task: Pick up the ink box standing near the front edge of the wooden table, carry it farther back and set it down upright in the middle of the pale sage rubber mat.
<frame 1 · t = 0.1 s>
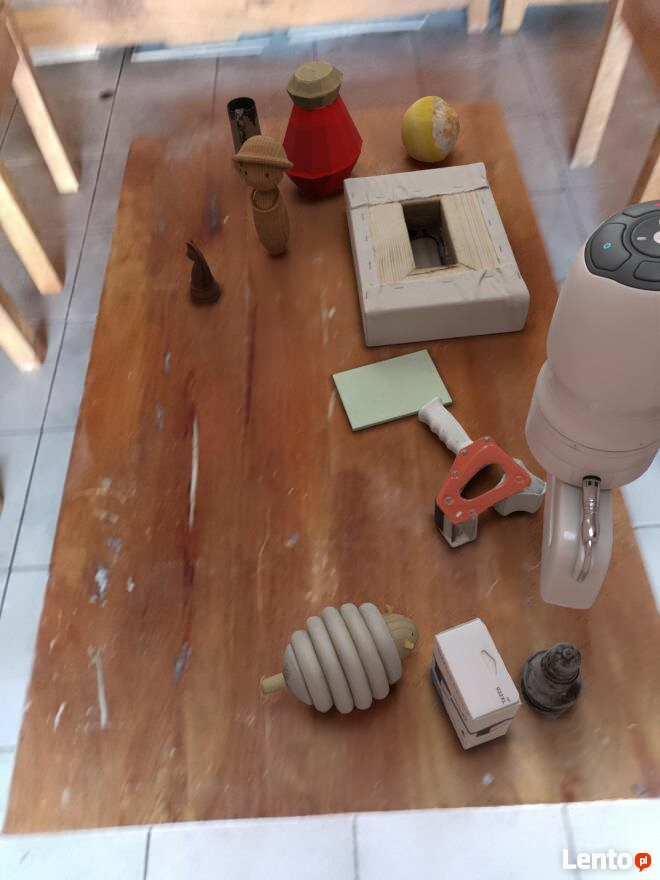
hand: (557, 520, 60), 23 cm above the table, tool pointing down, fingers open, 8 cm apart
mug: (251, 165, 132), on the table
dark grey tiered post: (546, 689, 75), on the table
box: (427, 268, 113), on the table
fruit: (429, 157, 129), on the table
mat: (391, 390, 99), on the table
toy sheep: (345, 674, 77), on the table
ink box: (466, 702, 74), on the table
figurine: (277, 251, 118), on the table
chess piece: (207, 295, 113), on the table
bottle: (323, 182, 127), on the table
tape dispenser: (472, 480, 90), on the table, touching mat
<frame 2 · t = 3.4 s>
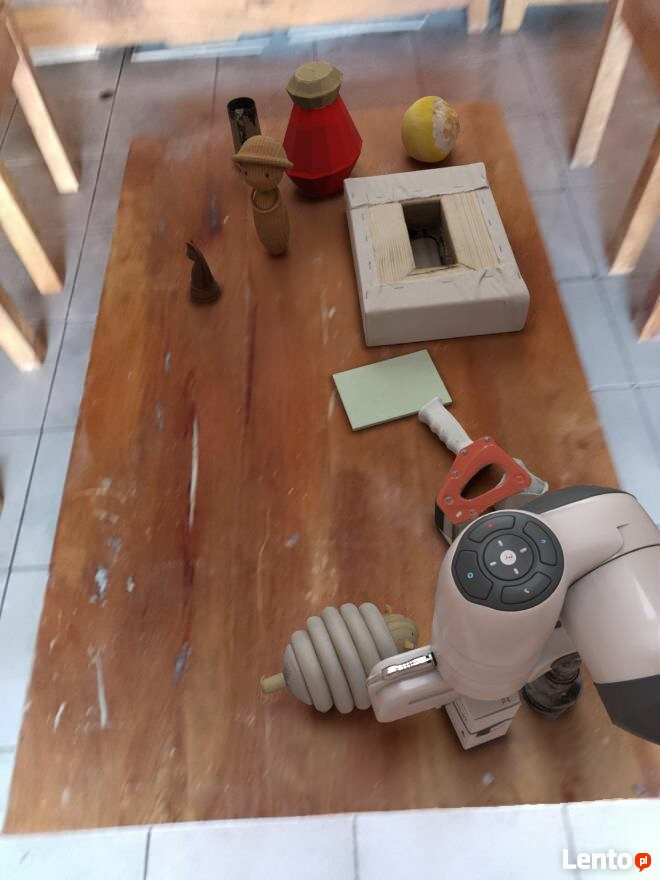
hand: (470, 689, 71), 5 cm above the table, tool pointing down, fingers closed on ink box, 5 cm apart
ink box: (466, 702, 74), on the table, touching gripper
everything else where it was.
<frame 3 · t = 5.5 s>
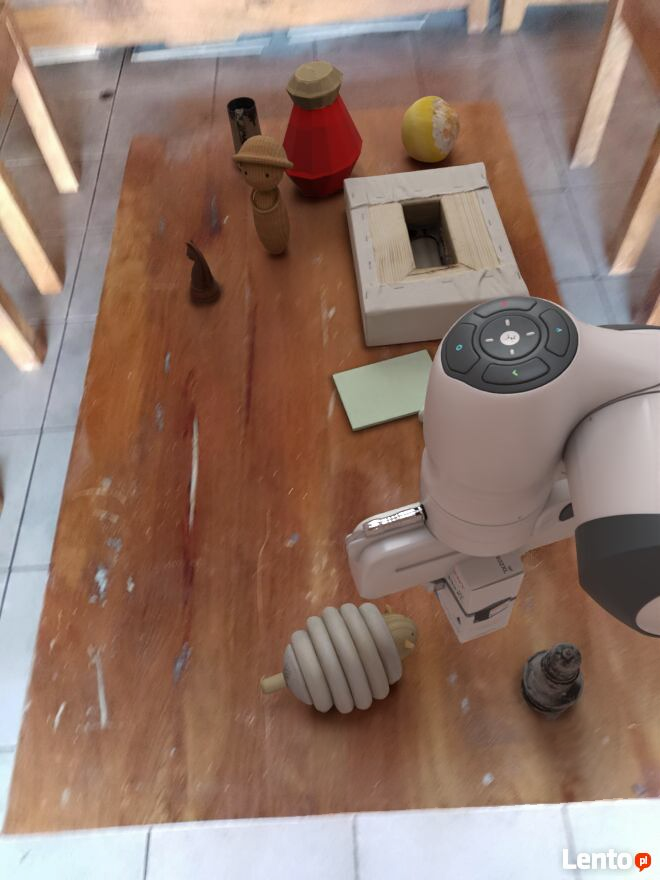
hand: (467, 572, 62), 19 cm above the table, tool pointing down, fingers closed on ink box, 5 cm apart
ink box: (462, 595, 66), point 14 cm above the table, touching gripper
everything else where it was.
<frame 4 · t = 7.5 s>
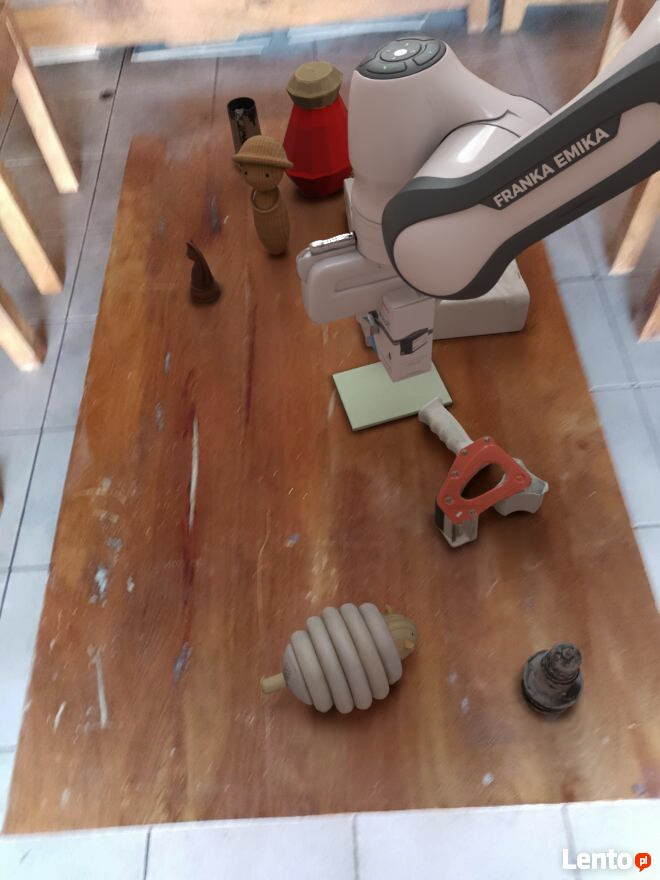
hand: (397, 324, 79), 20 cm above the table, tool pointing down, fingers closed on ink box, 5 cm apart
ink box: (397, 353, 83), point 15 cm above the table, touching gripper
everything else where it was.
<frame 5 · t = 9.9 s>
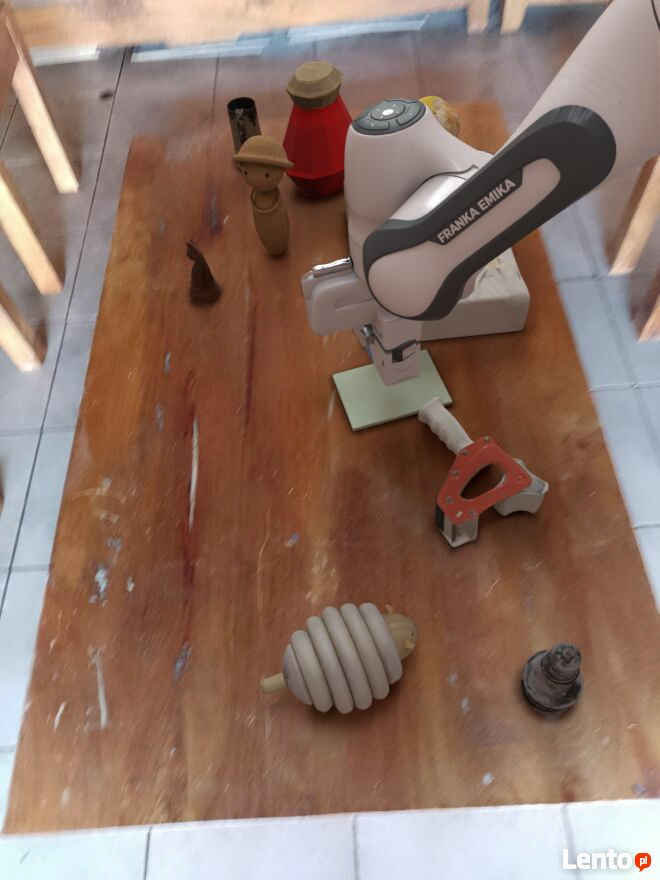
hand: (390, 335, 90), 11 cm above the table, tool pointing down, fingers closed on ink box, 5 cm apart
ink box: (390, 361, 94), point 6 cm above the table, touching gripper
everything else where it was.
when the fingers open (5 cm above the table, at t = 11.8 s): ink box stays where it is, resting on mat.
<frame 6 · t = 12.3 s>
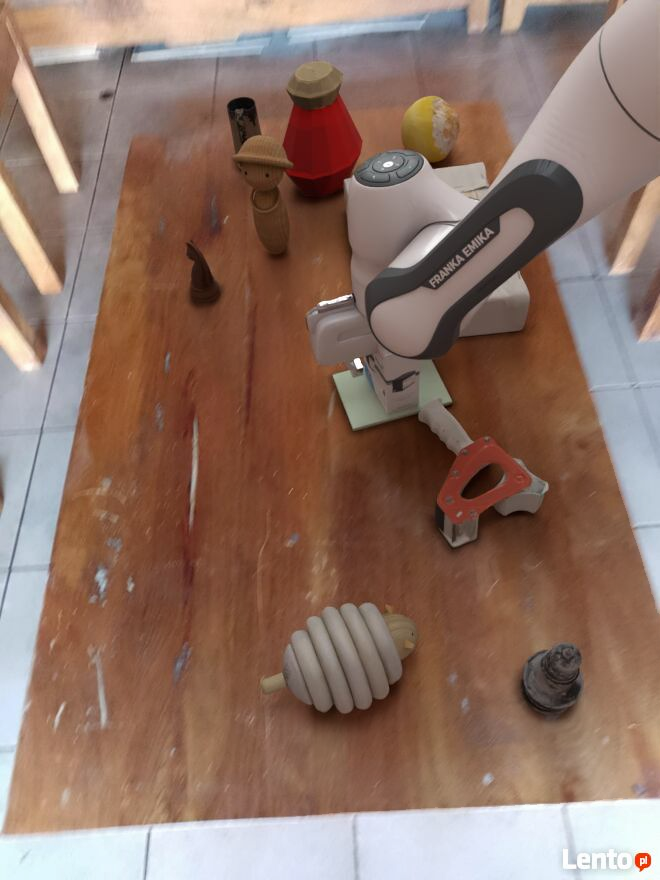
hand: (390, 363, 94), 6 cm above the table, tool pointing down, fingers open, 8 cm apart
ink box: (391, 388, 98), resting on mat
everything else where it was.
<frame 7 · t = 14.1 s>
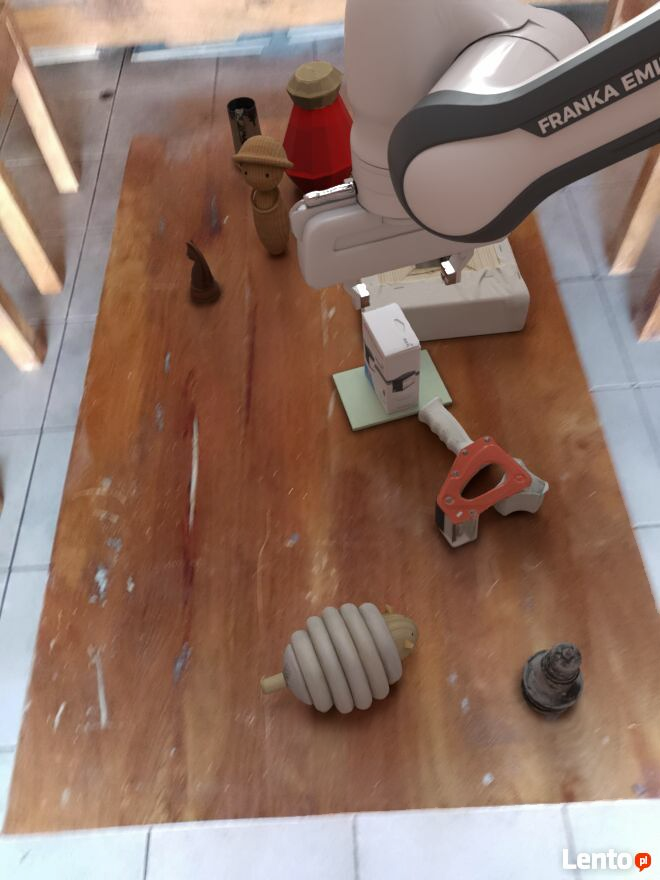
hand: (405, 292, 72), 27 cm above the table, tool pointing down, fingers open, 8 cm apart
nothing on the table moved.
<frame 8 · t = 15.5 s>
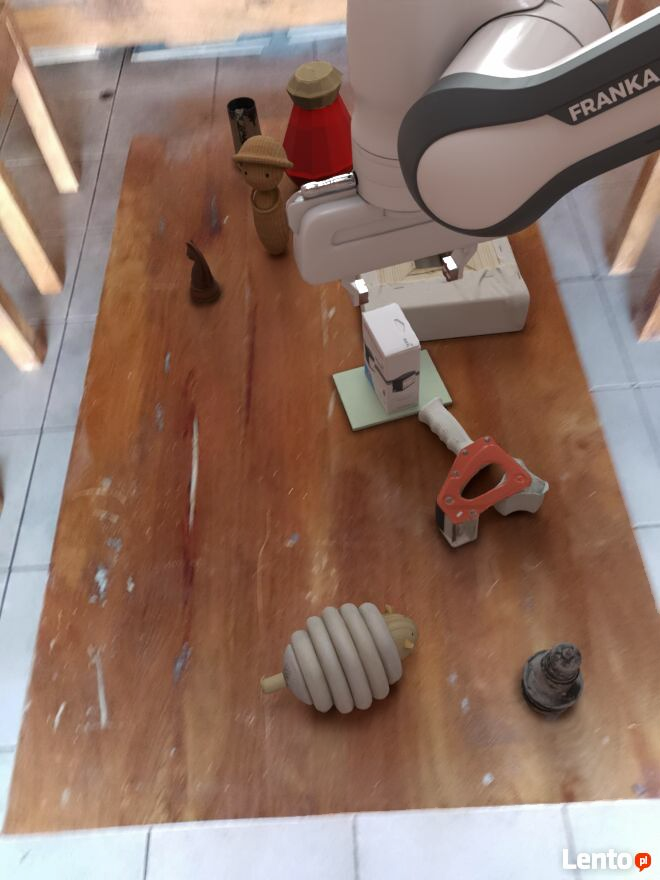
hand: (405, 288, 69), 29 cm above the table, tool pointing down, fingers open, 8 cm apart
nothing on the table moved.
at the end: ink box inside the target area on the mat (0.1 cm from its centre), point 0.4 cm above the mat's base; ink box tilted 0°; the gripper is holding nothing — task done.
